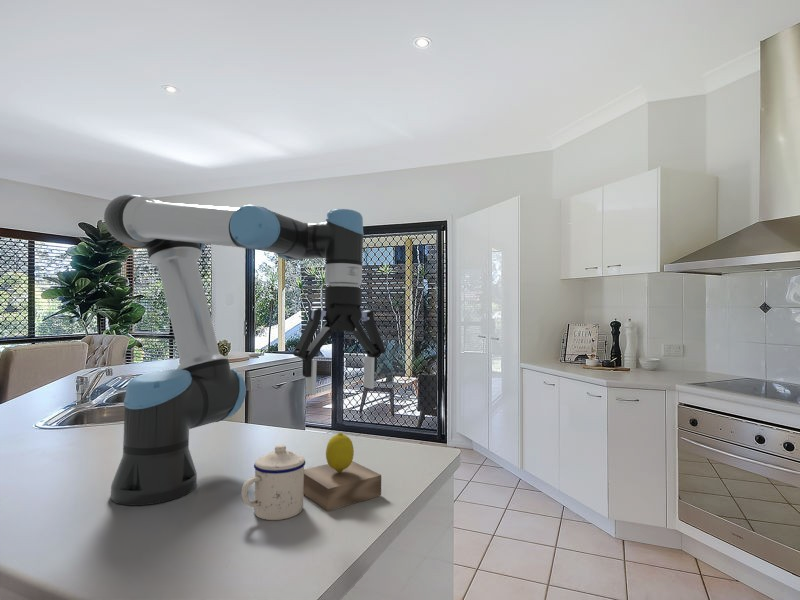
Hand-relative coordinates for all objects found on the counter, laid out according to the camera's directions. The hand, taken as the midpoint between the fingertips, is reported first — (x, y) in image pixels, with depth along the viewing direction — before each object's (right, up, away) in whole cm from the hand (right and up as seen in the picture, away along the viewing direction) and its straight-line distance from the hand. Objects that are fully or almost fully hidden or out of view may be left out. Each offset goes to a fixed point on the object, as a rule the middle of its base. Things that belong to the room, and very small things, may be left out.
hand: (341, 390), depth 90 cm
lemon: (0, -17, -1) cm, 17 cm away
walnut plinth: (0, -20, -1) cm, 20 cm away
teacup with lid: (-11, -20, -10) cm, 25 cm away
